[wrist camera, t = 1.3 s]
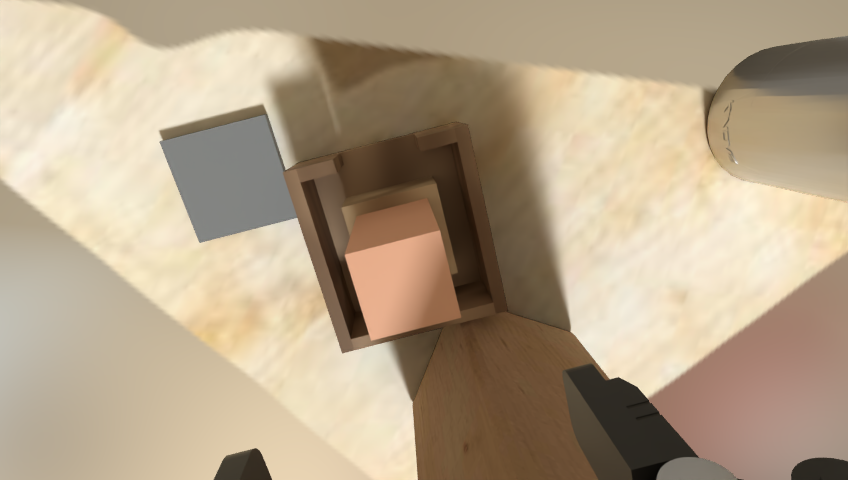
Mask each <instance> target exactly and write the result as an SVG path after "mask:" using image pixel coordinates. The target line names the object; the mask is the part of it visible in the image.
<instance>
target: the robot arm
mask: <svg viewBox="0 0 848 480" xmlns="http://www.w3.org/2000/svg"><path fill="white" fill-rule="evenodd" d="M707 134H708V139H709V144H710V148H711V150H712V152H713V155H714V157H715V159H716V160H717V161H718V163H719V164H720V165H721V167H722V168H723V169H725V170H726V171H727V172H728V173H730V174H731V175H733V176H735V177H737V178H739V179H742V180H745V181H749V182H754V183H759V184H763V185H768V186H773V187H777V188H782V189H786V190H790V191H795V192H799V193H804V194H809V195H814V196H818V197H823V198H828V199H832V200H837V201H842V202H847V203H848V36H845V37H837V38H831V39H822V40H815V41H809V42H803V43H796V44H790V45H783V46H777V47H772V48H769V49H764V50H761V51H759V52H757V53H755V54H753V55H751V56H749V57H747V58H746V59H745V60H743V61H742V62H741V63H739V64H738V65H737V66H736V67H735V68H734V69H733V70H732V71H731V72H730V73H729V74H728V75H727V76H726V77H725V79H724V80H723V82H722V83H721V85H720V86H719V88H718V89H717V91H716V94H715V96H714V98H713V101H712V103H711V107H710V111H709V116H708V130H707ZM562 376H563V382H564V387H565V393H566V398H567V403H568V409H569V414H570V419H571V423H572V427H573V430H574V433H575V436H576V439H577V441H578V443H579V445H580V447H581V449H582V451H583V453H584V455H585V456H586V458H587V460H588V462H589V463H590V465H591V467H592V469H593V471H594V472H595V474H596V476H597V478H598V480H741V479H737V478H736V477H735V476H734V475H733V474H732V473H731V472H730V471H729V470H727V469H726V468H724V467H723V466H721V465H719V464H717V463H715V462H712V461H710V460H706V459H703V458H699V457H698V456H697V455H696V454H695V453H694V451H693V450H692V449H691V448H690V447H689V446H688V444H687V443H686V442H685V441H684V440H683V439H682V438H681V437H680V435H679V434H678V433H677V432H676V431H675V430H674V429H673V427H672V426H671V425H670V424H669V423H668V422H667V421H666V419H665V418H664V417H663V416H662V415H660V414H659V411H658V410H657V409H656V408H655V407H654V406H653V405H652V403H650V402H649V400H648V399H647V398H646V397H645V395H644V394H643V393H642V392H641V391H640V390H639V389H638V388H637V387H636V386H634V385H632V384H630V383H629V382H627V381H625V380H623V379H621V378H619V377H618V378H614V379H610V380H605V379H604V378H603V376H602V375H601V374H600V373H599V371H598V370H597V369H596V367H595V366H594V365H593V364H592V363H589V364H585V365H581V366H577V367H573V368H570V369H566V370H563V372H562ZM214 480H272V478H271V476H270V473H269V471H268V468H267V466H266V464H265V461H264V459H263V456H262V454H261V452H260V451H259V450H258V449H256V448H255V449H252V450H247V451H244V452H239V453H235V454H232V455H228V456H226V457H225V458H224V459H223V461H222V463H221V465H220V468H219V470H218V472H217V474H216V476H215V478H214ZM791 480H848V462H847V461H844V460H839V459H834V458H812V459H808V460H805V461H802V462H800V463H799V464H797V466H795V467H794V469H793V470H792V474H791Z"/></svg>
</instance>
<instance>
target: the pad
mask: <svg viewBox="0 0 848 480" xmlns="http://www.w3.org/2000/svg"><path fill="white" fill-rule="evenodd" d="M160 144H161V147H162V149H163V152H164V154H165V157H166V159H167V162H168V164H169V167H170V169H171V172H172V175H173V177H174V180H175V182H176V185H177V187H178V190H179V192H180V195H181V197H182V200H183V202H184V205H185V207H186V210H187V212H188V215H189V217H190V220H191V222H192V225H193V228H194V230H195V233H196V235H197V238H198V240H199V243H201V242H205V241H208V240H212V239H216V238H220V237H224V236H228V235H232V234H236V233H240V232H243V231H247V230H251V229H255V228H259V227H263V226H267V225H271V224H275V223H278V222H282V221H286V220H290V219H294V218H297V215H296V212H295V209H294V206H293V203H292V200H291V197H290V194H289V191H288V188H287V185H286V182H285V179H284V176H283V172H284V171H286V170H285V167H284V164H283V161H282V158H281V155H280V152H279V149H278V146H277V143H276V140H275V137H274V134H273V131H272V128H271V125H270V122H269V119H268V116H267V114H265V115H261V116H257V117H253V118H249V119H245V120H242V121H238V122H234V123H230V124H226V125H222V126H218V127H214V128H211V129H207V130H203V131H199V132H195V133H191V134H187V135H183V136H180V137H176V138H172V139H168V140H164V141H160Z"/></svg>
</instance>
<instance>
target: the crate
mask: <svg viewBox="0 0 848 480" xmlns="http://www.w3.org/2000/svg"><path fill="white" fill-rule="evenodd" d="M283 176H284V179H285V182H286V185H287V188H288V191H289V194H290V197H291V200H292V203H293V206H294V209H295V212H296V215H297V218H298V221H299V224H300V227H301V230H302V233H303V236H304V239H305V242H306V245H307V248H308V251H309V254H310V257H311V260H312V263H313V266H314V269H315V272H316V275H317V278H318V281H319V284H320V287H321V290H322V293H323V296H324V299H325V302H326V305H327V308H328V312H329V315H330V318H331V321H332V324H333V327H334V330H335V333H336V336H337V339H338V342H339V345H340V348H341V351H342V353H345V352H349V351H353V350H357V349H361V348H365V347H369V346H373V345H376V344H380V343H384V342H388V341H392V340H396V339H400V338H404V337H408V336H412V335H415V334H419V333H423V332H427V331H431V330H435V329H439V328H443V327H447V326H451V325H454V324H458V323H462V322H466V321H470V320H474V319H478V318H482V317H486V316H490V315H493V314H497V313H501V312H505V311H508V309H507V304H506V300H505V295H504V290H503V286H502V281H501V276H500V272H499V267H498V262H497V258H496V253H495V249H494V244H493V239H492V235H491V230H490V225H489V221H488V216H487V211H486V207H485V202H484V198H483V193H482V188H481V184H480V179H479V174H478V170H477V165H476V160H475V156H474V151H473V147H472V142H471V137H470V133H469V128H468V125H467V124H463V123H459V122H454V123H450V124H447V125H443V126H439V127H435V128H431V129H427V130H423V131H419V132H416V133H412V134H408V135H404V136H400V137H396V138H392V139H388V140H384V141H381V142H377V143H373V144H369V145H365V146H361V147H357V148H353V149H350V150H346V151H342V152H338V153H334V154H330V155H326V156H322V157H319V158H315V159H311V160H307V161H303V162H299V163H297V164H296V165H294V166H292V167H291V168H289V169H287V170H286V171H284V172H283ZM425 198H427V199H428V201H429V204H430V206H431V209H432V211H433V214H434V216H435V219H436V221H437V224H438V227H439V229H440V232H441V237H442V241H443V245H444V249H445V253H446V257H447V261H448V265H449V269H450V273H451V277H452V281H453V285H454V289H455V293H456V297H457V301H458V305H459V310H460V314H461V318H458V319H454V320H450V321H446V322H443V323H439V324H435V325H431V326H427V327H423V328H419V329H415V330H411V331H407V332H404V333H400V334H396V335H392V336H388V337H384V338H380V339H376V340H372V341H371V339H370V335H369V332H368V329H367V326H366V323H365V319H364V316H363V313H362V310H361V306H360V303H359V300H358V297H357V293H356V290H355V287H354V284H353V281H352V277H351V274H350V271H349V268H348V264H347V261H346V258H345V252H346V248H347V245H348V242H349V239H350V236H351V232H352V229H353V226H354V223H355V220H356V216H359V215H363V214H367V213H371V212H375V211H379V210H383V209H387V208H390V207H394V206H398V205H402V204H406V203H410V202H414V201H418V200H422V199H425Z"/></svg>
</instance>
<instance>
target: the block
mask: <svg viewBox="0 0 848 480" xmlns="http://www.w3.org/2000/svg"><path fill="white" fill-rule="evenodd" d="M345 258H346V261H347V264H348V268H349V271H350V274H351V277H352V281H353V284H354V287H355V290H356V293H357V297H358V300H359V303H360V306H361V310H362V313H363V316H364V319H365V323H366V326H367V329H368V332H369V335H370V339H371V341H372V340H376V339H380V338H384V337H388V336H392V335H396V334H400V333H404V332H407V331H411V330H415V329H419V328H423V327H427V326H431V325H435V324H439V323H443V322H446V321H450V320H454V319H458V318H461V314H460V310H459V305H458V301H457V297H456V293H455V289H454V285H453V281H452V277H451V273H450V269H449V265H448V261H447V257H446V253H445V249H444V245H443V241H442V237H441V232H440V229H439V227H438V224H437V221H436V219H435V216H434V214H433V211H432V209H431V206H430V204H429V201H428V199H427V198H425V199H422V200H418V201H414V202H410V203H406V204H402V205H398V206H394V207H390V208H387V209H383V210H379V211H375V212H371V213H367V214H363V215H359V216H356V220H355V223H354V226H353V229H352V232H351V236H350V239H349V242H348V245H347V248H346V252H345Z"/></svg>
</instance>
